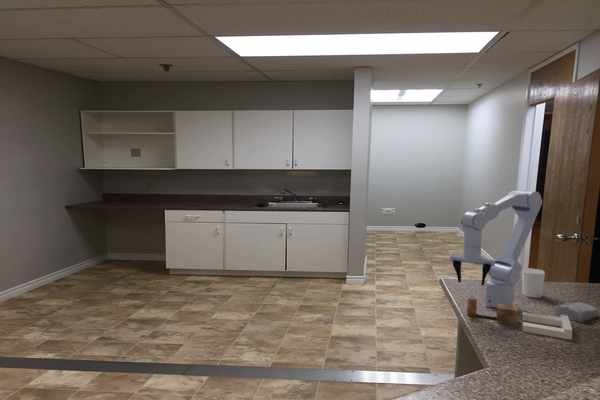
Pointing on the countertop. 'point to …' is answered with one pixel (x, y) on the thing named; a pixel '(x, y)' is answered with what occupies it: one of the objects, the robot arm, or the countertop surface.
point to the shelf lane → (547, 330)
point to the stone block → (577, 311)
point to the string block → (504, 312)
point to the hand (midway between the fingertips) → (471, 283)
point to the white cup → (532, 282)
